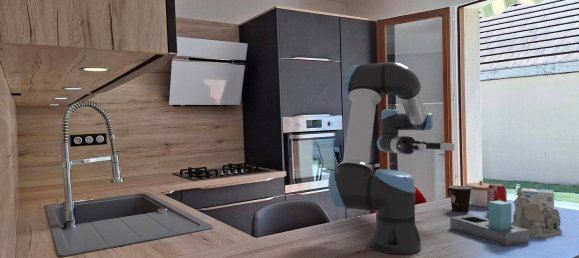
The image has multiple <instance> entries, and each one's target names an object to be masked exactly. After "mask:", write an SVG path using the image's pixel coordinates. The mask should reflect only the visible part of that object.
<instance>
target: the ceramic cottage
mask: <svg viewBox="0 0 579 258" xmlns="http://www.w3.org/2000/svg"><path fill="white" fill-rule="evenodd" d="M516 189H517V194H516V196H517V197H516V198H515V199H514V200H513V205H514V212H513V216H512V217H513V218H512V219H513V220H512V221H511V225H512V226H516V227H519V228H523V229H527V230H528V238H533V239H535V238H536V239H539V238H540V239H541V238H543V239H544V238H549V237H554V236H558V235H561V234H562V233H563V231H562V229H561V228H560V226H561V223H562V222H561V216H560V211H559V210H558V209H557V208H554V209H547V203H546V202H543V203H542V206H540V205H539V203H531V201H530V200H528V199H527V198H526V197H525V196H524V195H522V187H517V188H516Z"/></svg>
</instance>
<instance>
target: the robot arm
mask: <svg viewBox="0 0 579 258" xmlns="http://www.w3.org/2000/svg"><path fill="white" fill-rule="evenodd" d="M421 85H422V84H421V82H420V79H419V77H418V75H417V74H416V73H415V72H414V71H413V70H412V69H410V68H409V67H407V66H406V65H404V64H402V63H399V62H394V61H388V62H378V63H377V62H376V63H367V64H364V63H360V64H355V65H352V66H351V67H349V68H348V69H347V72H346V75H345V79H344V91H345V94H346V95H347V96H348V99H349V100H350V101H351V107H350V113H349V120H348V125H347V132H346V137H345V146H344V152H343V159H342V161H341V162H340V163H338V164H337V168H336V170H334V171H331V172H330V174H329V176H328V193H329V198H330V201H331V203H332V204H333V205H334V206H335V207H337V208H343V209H346V210H348V209H351V210H362V211H371V212H372V211H373V212H375V223H374V226H373V229H372V233H371V235H370V246H371V248H372V249H373V250H376V251H378V252H381V253H386V254H391V255H412V254H416V253H418V252H420V251H422V240H421V237H420V234H419V231H418V227H417V224H416V188H415V186H416V185H415V184H416V183H415V178H414V177H413V175H412V174H410V173H408V172H404V171H401V170H396V169H383V168H378V169H376V170H375V172H374V173H373V168H372V167H371V166H370V164H369V163H370V156H371V149H372V141H373V132H374V126H375V125H374V123H375V115H376V108H377V107H376V106H377V105H378V104H379V103H380V102H381V100H382V96H389V95H390V96H392V95H394V96H396V98H399V100H400V102H401V105H402V107H403V109H404V112H405V113H404V112H403V113H402V112H401V113H399V110H398V109H396V108H395V109H383V110H382V111H381V118H380V121H381V122H380V123H381V125H380V126H381V129H380V131H381V133H380V134H381V135H380V136H379V137H378V138H377V141H376V146H377V148H378V150H380V151H382V152H384V153H393V154H398V155H401V154H403V155H411V154H413V153H414V152H423V153H426V152H427V150H440V151H441V150H442V151H453V152H454V151H455V143H454V142H453V143H450V142H449V143H448V142H444V141H443V140H442V141H441V142H426V141H419V140H415V139H414V138H413V137H412V136H408V135H407V136H405V135H404V136H403V135H399V132H400V131H431V130H433V128H434V117H433V114H432V113H431V112H426V110H425V106H424V102H423V98H422V95H421V93H420V91H421V90H422V87H421Z"/></svg>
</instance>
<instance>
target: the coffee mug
mask: <svg viewBox="0 0 579 258" xmlns="http://www.w3.org/2000/svg"><path fill="white" fill-rule="evenodd" d="M447 195H448V196H449V198H450V203H451V210H452V212H455V213H468V212H469V209H470V203H471V202H470V195H471V187H467V186H466V185H449V187H448V189H447Z"/></svg>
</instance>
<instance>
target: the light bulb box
mask: <svg viewBox="0 0 579 258" xmlns="http://www.w3.org/2000/svg"><path fill="white" fill-rule="evenodd" d="M521 191H522V195H524V196H525V197H526V198H527V199H528V200H530V201H531V203H539V205H540V206H542V203H543V202H546V203H547V209H555V192H554V189H540V188H539V189H538V188H521Z"/></svg>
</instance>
